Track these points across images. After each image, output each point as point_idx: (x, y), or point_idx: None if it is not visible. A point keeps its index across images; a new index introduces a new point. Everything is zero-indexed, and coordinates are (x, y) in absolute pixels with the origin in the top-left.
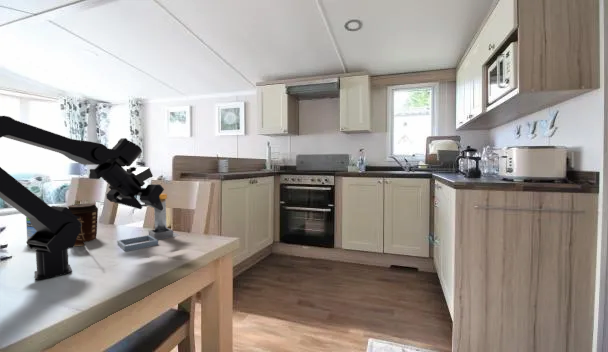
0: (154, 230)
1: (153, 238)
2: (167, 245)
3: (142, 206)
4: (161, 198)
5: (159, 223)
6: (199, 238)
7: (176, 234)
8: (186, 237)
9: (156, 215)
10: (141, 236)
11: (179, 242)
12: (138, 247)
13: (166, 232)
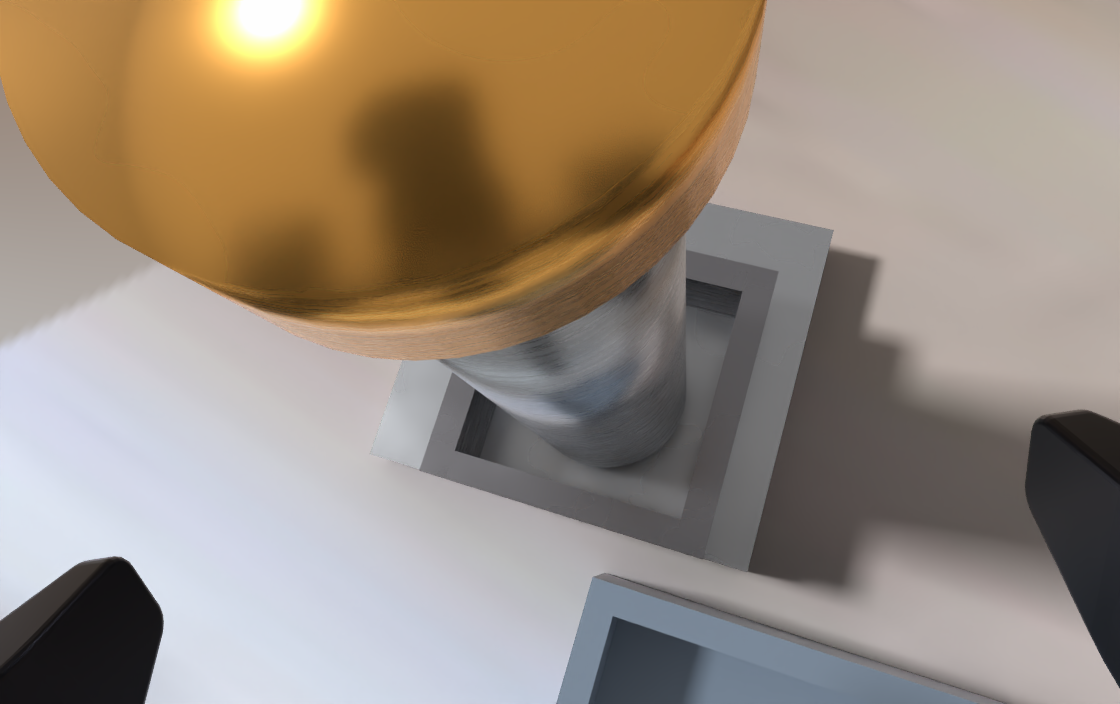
0: (474, 402)
1: (875, 688)
2: (983, 544)
3: (115, 564)
4: (747, 116)
5: (654, 406)
6: (1046, 105)
7: (727, 223)
8: (829, 163)
9: (591, 408)
10: (562, 691)
11: (988, 365)
12: None
13: (751, 374)
